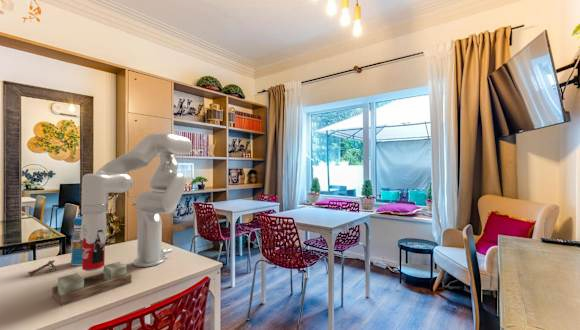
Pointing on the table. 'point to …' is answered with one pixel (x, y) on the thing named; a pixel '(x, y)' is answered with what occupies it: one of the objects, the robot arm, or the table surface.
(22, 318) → the table surface
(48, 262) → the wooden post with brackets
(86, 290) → the rail
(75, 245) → the beverage bottle
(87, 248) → the beverage can
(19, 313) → the table surface
